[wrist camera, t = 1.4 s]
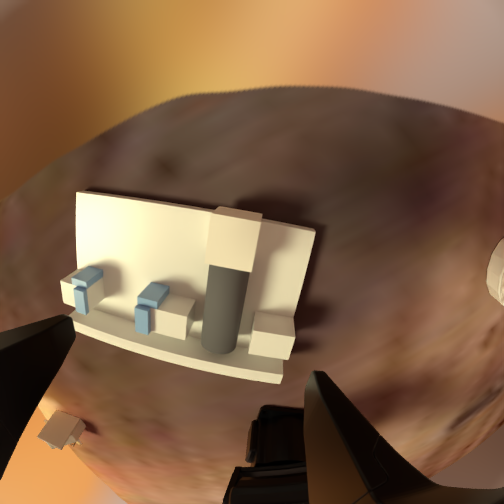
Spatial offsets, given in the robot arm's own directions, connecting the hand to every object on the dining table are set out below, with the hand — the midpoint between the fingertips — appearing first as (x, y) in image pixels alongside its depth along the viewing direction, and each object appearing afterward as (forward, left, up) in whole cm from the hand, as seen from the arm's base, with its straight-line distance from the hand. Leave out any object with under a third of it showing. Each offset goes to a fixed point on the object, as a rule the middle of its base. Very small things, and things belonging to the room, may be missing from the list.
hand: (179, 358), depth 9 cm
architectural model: (+22, +32, -12) cm, 41 cm away
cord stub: (0, +2, -11) cm, 11 cm away
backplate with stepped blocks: (+4, +3, -12) cm, 12 cm away
